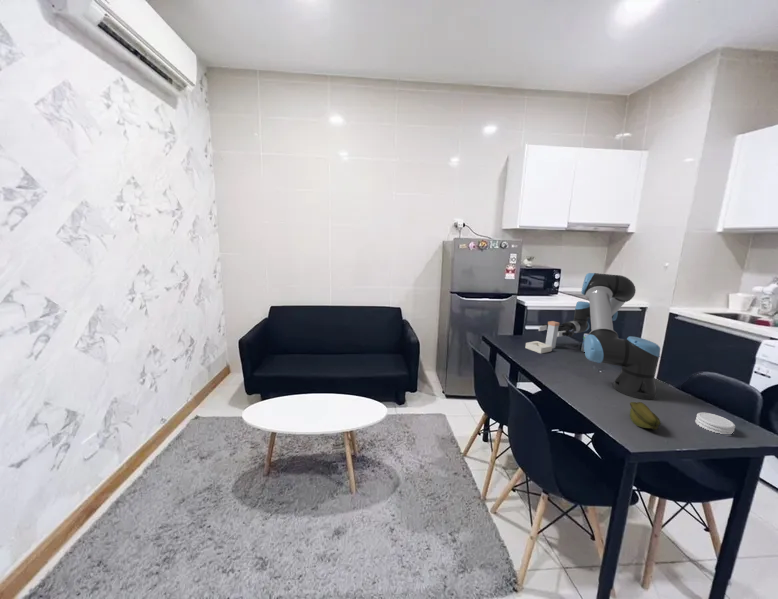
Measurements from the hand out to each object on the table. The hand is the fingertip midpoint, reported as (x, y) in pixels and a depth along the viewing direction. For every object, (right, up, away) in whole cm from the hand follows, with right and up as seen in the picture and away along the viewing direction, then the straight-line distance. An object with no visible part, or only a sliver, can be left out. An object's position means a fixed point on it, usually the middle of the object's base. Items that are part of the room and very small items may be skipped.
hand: (548, 331), depth 196 cm
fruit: (-2, -26, -75) cm, 79 cm away
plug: (+3, -11, +4) cm, 12 cm away
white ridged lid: (+24, -28, -75) cm, 83 cm away
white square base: (-7, -11, -2) cm, 13 cm away
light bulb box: (+25, -13, -1) cm, 28 cm away
